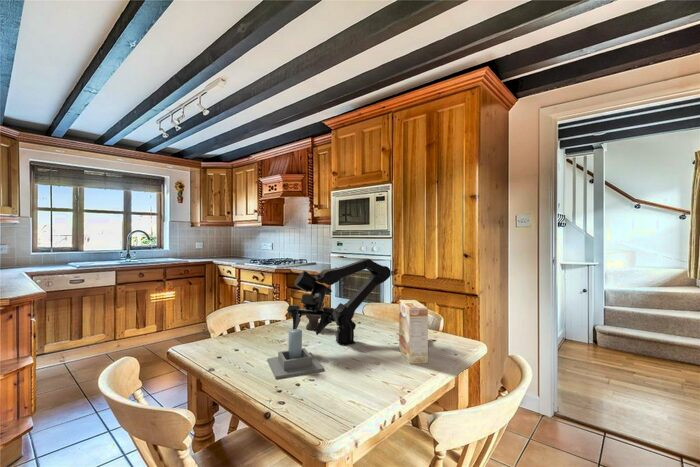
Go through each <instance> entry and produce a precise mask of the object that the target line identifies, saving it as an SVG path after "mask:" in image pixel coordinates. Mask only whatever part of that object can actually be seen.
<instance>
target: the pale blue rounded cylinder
mask: <svg viewBox="0 0 700 467" xmlns="http://www.w3.org/2000/svg"><path fill="white" fill-rule="evenodd" d="M287 347H288V350H287V351H288V360H289V359H296V358H302V347H303V330H302V329H300V328H297V329H293V328H291V329H289V330H288V346H287Z"/></svg>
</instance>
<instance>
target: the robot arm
mask: <svg viewBox="0 0 700 467" xmlns="http://www.w3.org/2000/svg"><path fill="white" fill-rule="evenodd" d="M363 270H367V271H368V272H370V273H369V276H368V279H367V280H366V281H365V282H364V283H363V284H362V285H361V287H360V288H359V289H358V290H357V291H356V292H355V293H354V294H352V296H351V298H350V299H348V301H347V302H346V303H344V304H343V303H341V302H340V303H339V304H338V305H337V306H336V308H334V307H328V306H327V307H326V306H325V307H324V305H325V303H324V301H325V297H326V295H329V294H331V293H332V289H331V288H330V286H332V285H334V284H337V283H338V282H339V281H340V280H341V279H343V278H345V277H348V276H350V275H353V274H356V273H358V272H361V271H363ZM391 275H392V273H391V269H390V267H388V266H386V265H381V264H379V263H377V262H375V261H374V260H372V259H370V258H362V259H360V260H358V261H354V262H352V263H349V264H346V265H343V266H341V267H333V268H327V269H323V270H321V271H320V273H319V274H316V275H314V276H313V275H311V274H310V273H309V272H308V271H306V270H303V271H302V272H301V273H300V274H299V275H298V276H297V278H295V281H294V283H293V284H294V286H295V287H297V288H299V289H301V290H302V291H303V292H306V293H302V294H301V300H300V303H302V304H303V308H301V307H300V306H299V305H300V304H299V305H297V304H289V305H288V306H287V308H286V311H287V313H288V314H289V316H290V318H292V329H298V327H299V325H300V323H301V321H302V320H301V317H302V316H303V315H304V316H306V315H313V316H321V318H320V319H319V321H318V322H319V325H318V328H317V330H316V331H315V334H316V335H317V336H318V335H319V334H320V333H321V332H322V331H323V330H324V329H325V328H326V327H327V326H328V325H330V324H332V323H335V324H336V326H337V330H336V331H335V334H336V335H335V341H336V343H338V344H339V345H340V346H346V345H352V344H356V341H355V340H354V339H355V336H354V335H355V334H354V333H355V331H354V330H356V326H357V323H356V322H354V321H353V318H354V315H355V312H356V310H357V309H358V308H359V306H360V305H361V304H362V303H363V302H364V301H365V300H366V299H367V298H368V297H369V295H370V294H371V293H372V292H373V291H374V289H375V288H376V287H377V286H379V285H380V284H382V283H384V282H386V281H387V280H388V279H389V278H390V277H391ZM326 285H327V286H326ZM309 292H311V293H309ZM322 306H323V310H322V311H320V310H321V307H322ZM305 308H306V309H305Z"/></svg>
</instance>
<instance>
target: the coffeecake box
mask: <svg viewBox="0 0 700 467" xmlns="http://www.w3.org/2000/svg"><path fill="white" fill-rule="evenodd" d="M398 307H399V308H398V350H399V351H400V354H402V356H403V357H404V358H405V360H406V361H407V363H408V364H409V365H416V364H428V363H429V346H428V345H429V318H428V317H429V315H428V314H429V311H428V309H429V307H427V306H425V305H424V304H422V303H420V302H419V301H418V300H416V299H399V300H398Z"/></svg>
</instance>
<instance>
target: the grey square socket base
mask: <svg viewBox="0 0 700 467" xmlns="http://www.w3.org/2000/svg"><path fill="white" fill-rule="evenodd" d="M266 362H267V363H268V365H269V368H270V370H271V372H272V375H273V377H274V378H275V380H277V379H278V380H279V379H284V378H289V377H296V376H302V375H307V374H312V373H313V374H314V373H319V372H325V367H324V366H323V365H322V363H320V361H319V360H318V358H316V357H315V355H314V354H313V353H312V352H309V351H308V350H307V349H306V348H305V347H303V348H302V358H296V359H289V360H288V350H281V351H278V352H277V357H276V356H275V357H269V358H267V360H266Z"/></svg>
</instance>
